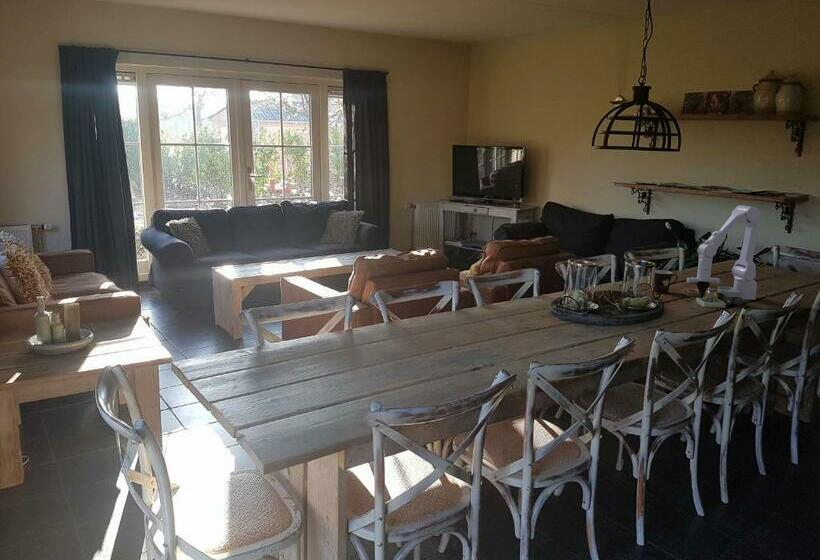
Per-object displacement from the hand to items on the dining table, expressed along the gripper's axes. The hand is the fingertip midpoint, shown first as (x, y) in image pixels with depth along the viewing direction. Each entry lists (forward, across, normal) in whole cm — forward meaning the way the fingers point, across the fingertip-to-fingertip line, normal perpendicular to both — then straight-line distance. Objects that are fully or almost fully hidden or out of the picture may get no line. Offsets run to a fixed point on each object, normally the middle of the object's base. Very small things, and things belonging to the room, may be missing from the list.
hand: (701, 297), depth 309 cm
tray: (+1, -1, +10) cm, 10 cm away
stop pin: (+1, 0, +9) cm, 9 cm away
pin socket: (+1, 0, -10) cm, 10 cm away
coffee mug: (+1, +12, -14) cm, 19 cm away
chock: (+1, -4, +1) cm, 4 cm away
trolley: (+1, -11, +4) cm, 12 cm away
